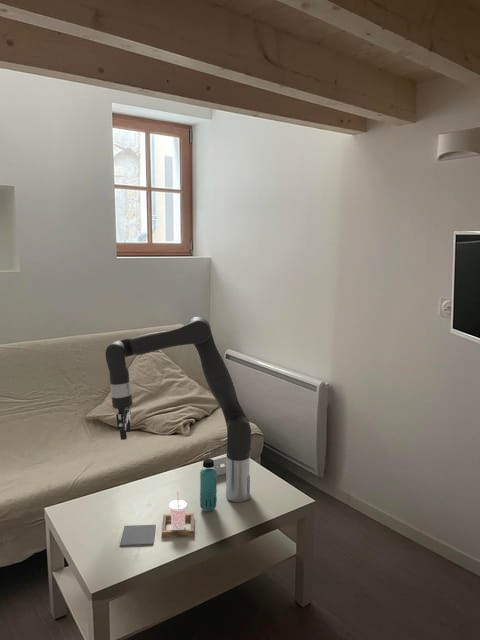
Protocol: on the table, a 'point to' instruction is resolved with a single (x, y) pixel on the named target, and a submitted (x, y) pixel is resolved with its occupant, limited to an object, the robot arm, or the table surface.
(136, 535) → the rubber mat
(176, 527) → the beverage cup
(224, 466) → the cassette
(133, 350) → the robot arm
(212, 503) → the beverage bottle
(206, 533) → the table surface
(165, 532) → the walnut holder
